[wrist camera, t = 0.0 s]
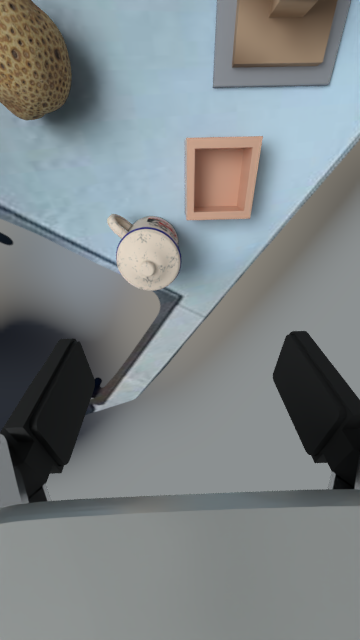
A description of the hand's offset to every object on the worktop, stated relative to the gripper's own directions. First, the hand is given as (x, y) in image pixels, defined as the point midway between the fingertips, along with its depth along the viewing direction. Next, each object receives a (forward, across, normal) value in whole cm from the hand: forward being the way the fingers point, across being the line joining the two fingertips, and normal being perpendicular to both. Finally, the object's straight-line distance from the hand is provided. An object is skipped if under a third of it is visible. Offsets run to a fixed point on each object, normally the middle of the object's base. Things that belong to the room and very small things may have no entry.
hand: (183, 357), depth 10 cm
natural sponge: (+31, +15, -16) cm, 38 cm away
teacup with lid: (+31, +5, +3) cm, 32 cm away
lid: (+31, -12, -21) cm, 39 cm away
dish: (+31, -6, -5) cm, 32 cm away
